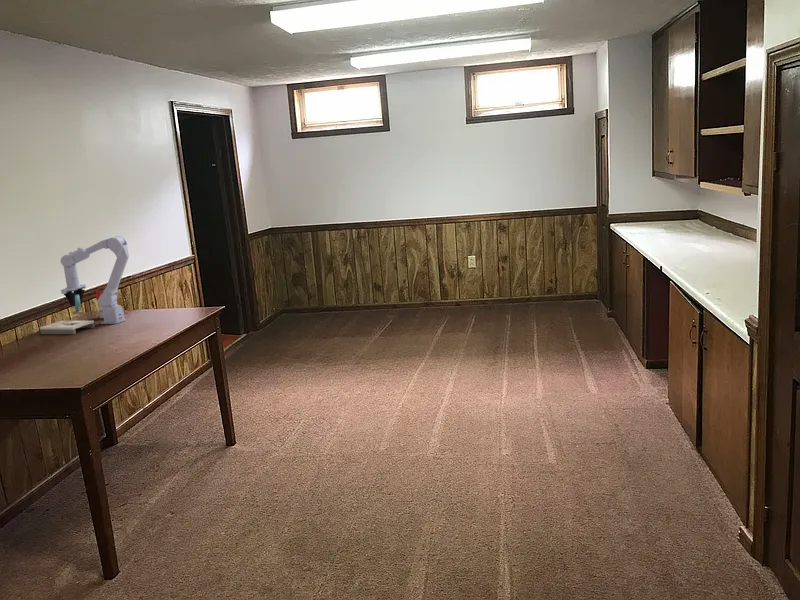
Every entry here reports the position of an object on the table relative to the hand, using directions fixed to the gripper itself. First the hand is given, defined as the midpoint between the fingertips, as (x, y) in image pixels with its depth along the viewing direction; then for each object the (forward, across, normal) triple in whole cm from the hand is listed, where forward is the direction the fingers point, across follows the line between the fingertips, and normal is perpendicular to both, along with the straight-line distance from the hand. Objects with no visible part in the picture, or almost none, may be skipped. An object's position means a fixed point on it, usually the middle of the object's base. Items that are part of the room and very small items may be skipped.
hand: (76, 305), depth 345 cm
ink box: (+11, -18, +3) cm, 21 cm away
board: (+10, +11, +3) cm, 15 cm away
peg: (+4, 0, 0) cm, 4 cm away
